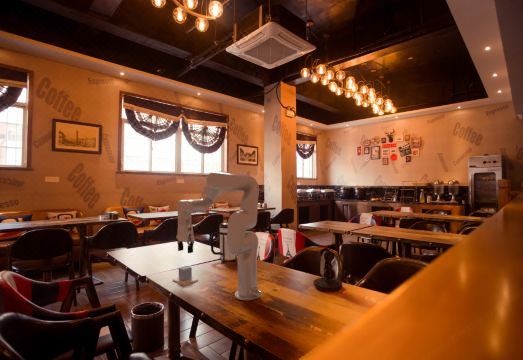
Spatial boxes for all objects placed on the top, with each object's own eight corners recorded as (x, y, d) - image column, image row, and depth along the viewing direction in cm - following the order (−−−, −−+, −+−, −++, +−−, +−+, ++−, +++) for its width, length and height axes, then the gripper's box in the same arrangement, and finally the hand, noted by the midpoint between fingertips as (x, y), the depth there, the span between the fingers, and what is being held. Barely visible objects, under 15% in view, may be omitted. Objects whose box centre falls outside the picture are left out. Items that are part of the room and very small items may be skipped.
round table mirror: (310, 282, 155) (310, 246, 155) (336, 281, 156) (336, 245, 156) (317, 293, 141) (317, 253, 141) (346, 292, 142) (345, 252, 142)
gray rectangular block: (191, 279, 161) (191, 267, 161) (183, 281, 157) (183, 269, 157) (186, 277, 164) (186, 265, 165) (178, 279, 161) (178, 267, 161)
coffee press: (225, 256, 213) (225, 216, 213) (243, 259, 205) (242, 218, 205) (210, 262, 198) (209, 219, 198) (228, 265, 190) (227, 221, 190)
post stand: (198, 281, 160) (197, 270, 160) (184, 285, 153) (184, 274, 154) (186, 276, 168) (186, 266, 168) (172, 280, 161) (172, 270, 161)
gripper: (199, 221, 158) (200, 252, 158) (182, 220, 170) (182, 248, 169) (187, 223, 152) (188, 255, 152) (170, 221, 164) (171, 251, 164)
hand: (185, 251), depth 161 cm, fingers open, 9 cm apart
